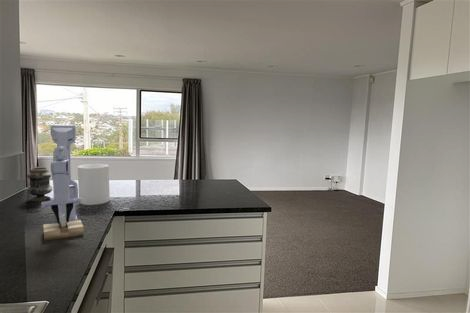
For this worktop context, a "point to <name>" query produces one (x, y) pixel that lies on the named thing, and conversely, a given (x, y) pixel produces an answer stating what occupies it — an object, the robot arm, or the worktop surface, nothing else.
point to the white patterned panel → (123, 208)
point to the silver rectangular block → (63, 220)
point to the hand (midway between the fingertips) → (63, 222)
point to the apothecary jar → (39, 183)
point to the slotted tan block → (63, 230)
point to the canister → (93, 183)
